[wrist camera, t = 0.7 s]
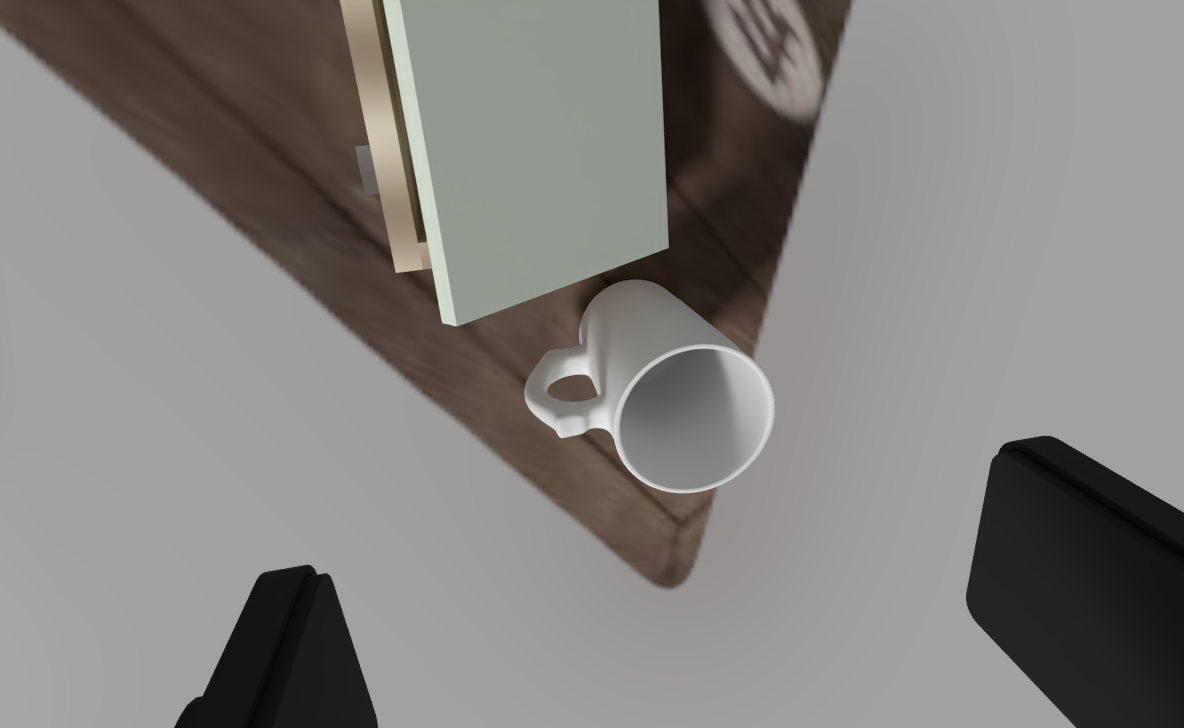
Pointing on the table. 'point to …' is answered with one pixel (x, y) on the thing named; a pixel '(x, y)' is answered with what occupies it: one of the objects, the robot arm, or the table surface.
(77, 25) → the table surface
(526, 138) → the lid
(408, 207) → the beige box
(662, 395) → the mug
